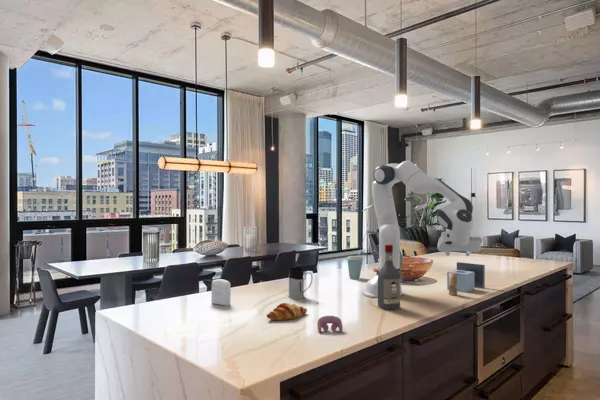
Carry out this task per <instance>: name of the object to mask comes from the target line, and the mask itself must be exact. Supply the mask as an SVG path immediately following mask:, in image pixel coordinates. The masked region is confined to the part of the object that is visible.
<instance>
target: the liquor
mask: <svg viewBox="0 0 600 400" xmlns="http://www.w3.org/2000/svg"><path fill="white" fill-rule="evenodd" d="M392 252H393V245H385V265H384V266H383V267H382V268H381V270H380V271H379V272H378V297H377V306H378V308H380V309H383V310H385V309H386V310H388V311H393V310H394V311H395V310H399V308H400V307H401V295H400V283H401V282H400V273H399V271H398V270H397V269H396V268H395V267H394V266H393V258H392ZM386 310H385V311H386Z"/></svg>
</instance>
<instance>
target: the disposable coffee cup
mask: <svg viewBox="0 0 600 400" xmlns="http://www.w3.org/2000/svg"><path fill="white" fill-rule="evenodd" d="M346 260H347V269H348V275H349V279H352V280H359V279H360V277H361V271H362V266H363V260H364V258H363V256H361V255H348V256H347V258H346Z"/></svg>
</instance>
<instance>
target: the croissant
mask: <svg viewBox="0 0 600 400" xmlns="http://www.w3.org/2000/svg"><path fill="white" fill-rule="evenodd" d="M307 312H308V309H307V308H306V307H303V306H299V305H297V304H295V303H294V304H291V303H288V302H282V303H280V304H278V305H277V306H276V307H275V308H274V309H273V310H272V311H269V313H267V314H266V317H267V319H269V320H270V321H271V320H272V321H277V322H278V321H281V322H282V321H289V320H296V319H297V318H300V317H302V316H304V315H305V314H307Z"/></svg>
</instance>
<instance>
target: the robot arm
mask: <svg viewBox="0 0 600 400" xmlns="http://www.w3.org/2000/svg"><path fill="white" fill-rule="evenodd" d="M372 173H373V175H372V177H373V180H374V181H372V183H371V193H372V199H373V200H372V201H373V206H374V211H375V217H376V221H377V227H378V231H379V232H378V247H379V248H378V250H379V252H378V253H379V258H378V259H379V261H378V262H379V263H378V265H379V267H378V268H376V267H374V268H373V269H372V270H373V272H375V273H376V274H375V275H374V276H372V278H370V279H369V280H368V281H366V285H365V290H364V289H362V290H361V295H363V296H366V297H369V298H378V272H379V271H380V270H381V268H382V267H383V266H384V265H385V245H393V252H392V258H393V266H394V267H395V268H396V269H397V270H398V271H399V273H400V276H401V270H400V254H401V253H400V252H401V248H400V247H401V244H400V243H401V232H400V226H399V222H398V216H397V212H396V211H397V210H396V205H395V199H394V195H393V186H397V185H399V184H401V183H403V184H404V185H405V186H406V187H407V188H408V190H409V191H411V192H412V193H413V194H415V195H416V194H417V195H424V194H429V193H431V194H432V193H436V194H437V193H438V194H440V195H441V196H443V198H445V199H446V200H448V202H449V203H448V204H447V205H444V206H443V207H441V208H439V209H438V210H437V212H436V220H437V223H438V224H439V225H440V226H441V227H442V228H444V229H446V231H442V232H441V235H440V237H439V238H438V241H437V251H439V252H444V253H445V255H446V256H447V257H448V256H450V255H451V253H450V252H465V256H466V257H468V256H470V254H472V253H473V252H475V253H476V252H479V251H481V249H482V247H481V246H482V245H481V244H482V243H483V238H482V237H480V236H472V230H473V225H474V217H473V215H472V214H473V210H474V206H473V205H474V204H473V203H472V201H471V200H470V199H468V198H467V197H466V196H463V195H461V194H460V193H459V192H457V191H456V190H454V189H453V188H452V187H450V186H449V185H447V183H445V182H443V181H442V179H439V178H437V177H433V176H430V175H427V173H425V172H424V171H423V170H422V169H421V168H419V167H418V165H416V164H415V163H413V162H411V161H410V160H404V161H401V163H400V162H399V163H398V162H397V163H395V162H394V163H387V164H380V165H379V166H377V167H376V168H375V169H374V170H373V172H372ZM401 283H402V282H400V296H402V295H403V294H404V293H403V290H402V284H401Z"/></svg>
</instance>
